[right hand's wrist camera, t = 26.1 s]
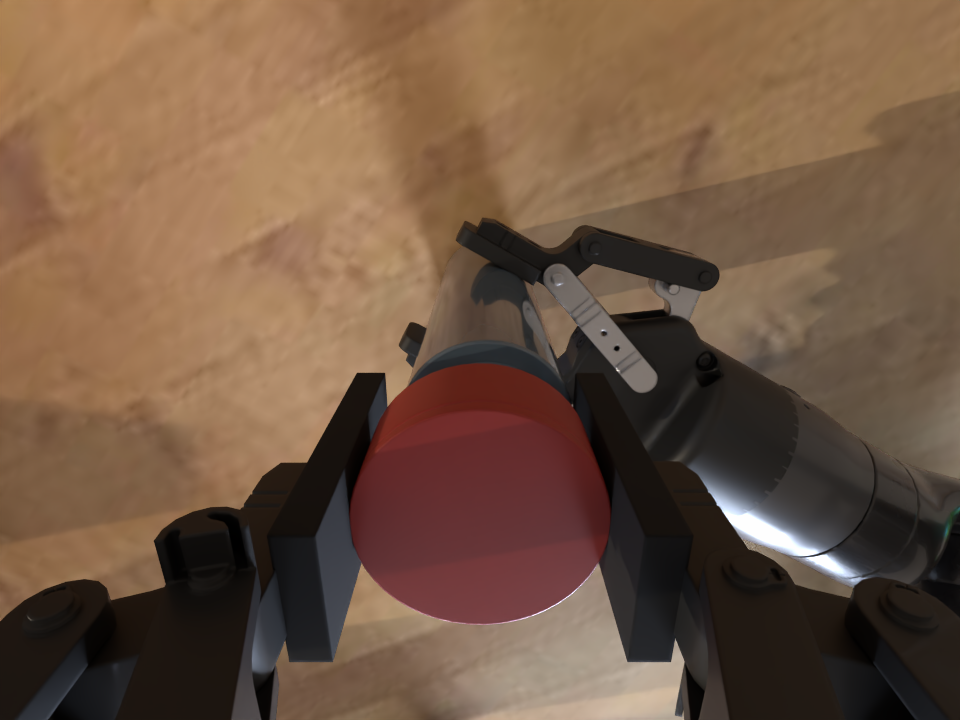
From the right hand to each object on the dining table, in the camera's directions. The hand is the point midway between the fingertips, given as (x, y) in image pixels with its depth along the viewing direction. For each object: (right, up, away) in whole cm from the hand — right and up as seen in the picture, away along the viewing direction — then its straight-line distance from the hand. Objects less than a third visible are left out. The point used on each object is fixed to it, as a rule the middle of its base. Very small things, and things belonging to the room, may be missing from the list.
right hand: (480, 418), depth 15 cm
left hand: (-2, +5, +9) cm, 10 cm away
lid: (0, -2, -4) cm, 4 cm away
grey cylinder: (0, +6, +15) cm, 16 cm away
